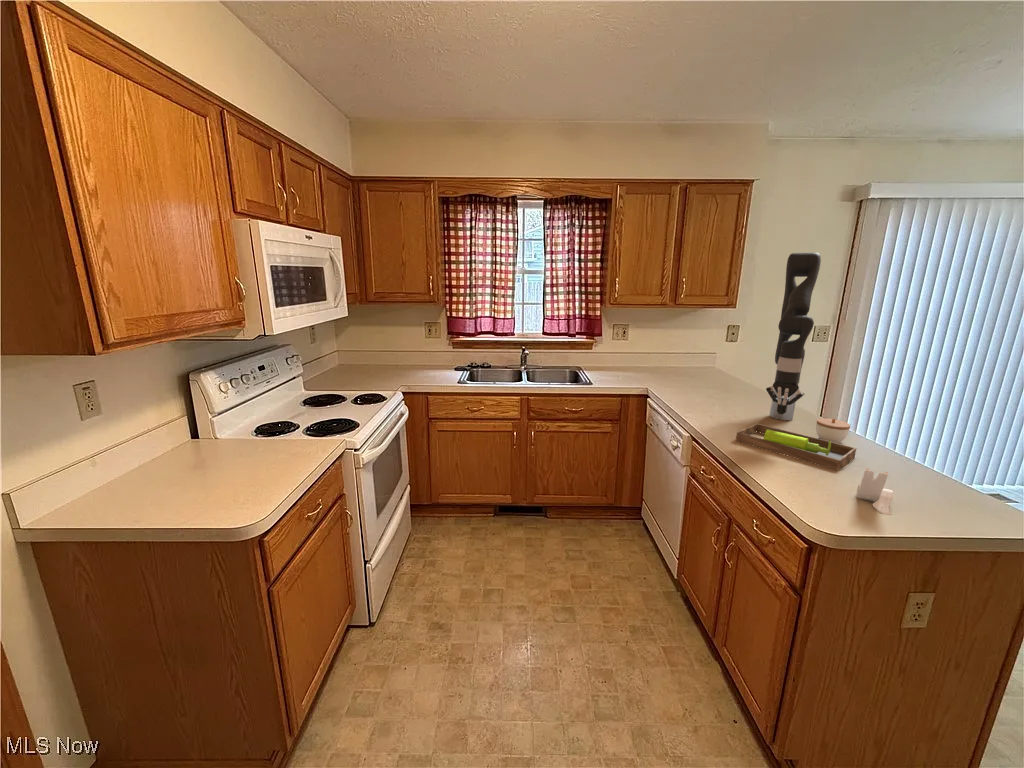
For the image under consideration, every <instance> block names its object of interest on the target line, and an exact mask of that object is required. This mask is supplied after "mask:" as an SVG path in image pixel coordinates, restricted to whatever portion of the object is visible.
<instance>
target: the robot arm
mask: <svg viewBox="0 0 1024 768" xmlns="http://www.w3.org/2000/svg"><path fill="white" fill-rule="evenodd" d="M821 261H822V259H821V254H820V253H819V252H792V253H790V254H789V256H788V257H787V262H786V268H785V269H786V270H785V271H786V272H785V285H784V295H783V301H782V307H781V313H780V314H781V315H780V319H779V323H778V330H779V332H778V333H779V334H778V335H779V336H778V339H777V344H776V349H775V356H774V363H775V364H776V372H775V377H774V382H773V383H772V385H771V386H768V387H766V388H765V390H766V392H767V394H768V395H769V397H770V398H771V404H770V409H769V410H770V411H769V417H770V416H771V417H772V419H774V418H775V419H774V420H778V419H780V420H779V421H785V420H789V421H792V419H794V413H795V408H796V403H797V401H798V400H800V399H801V398H803V397H804V396H805V393H804V392H802V391H801V390H800V387H799V385H800V379H801V372H802V368H803V364H804V360H805V353H806V349H805V345H806V343H807V340H808V338H809V335H810V334H811V332H812V330H813V327H814V324H815V323H814V319H813V317H811V316H809V315H808V314H809V312H810V307H811V301H812V295H813V291H814V289H815V287H816V282H817V279H818V276H819V271H820V270H821V268H820V267H821ZM796 277H797V278H799V277H800V278H805V279H804V280H803V281H802V282H800V284H798V285H797V282H796ZM792 336H798V338H796V339H792V340H790V338H792ZM771 417H770V418H771Z"/></svg>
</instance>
